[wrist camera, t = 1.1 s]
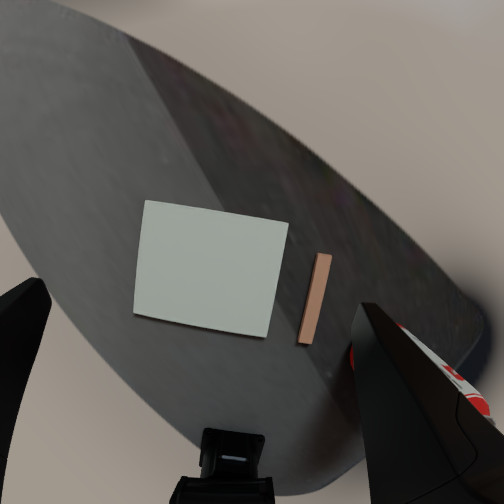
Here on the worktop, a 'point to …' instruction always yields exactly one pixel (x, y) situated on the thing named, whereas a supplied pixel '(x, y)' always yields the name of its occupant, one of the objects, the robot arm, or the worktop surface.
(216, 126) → the worktop surface
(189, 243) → the grey board and stick
